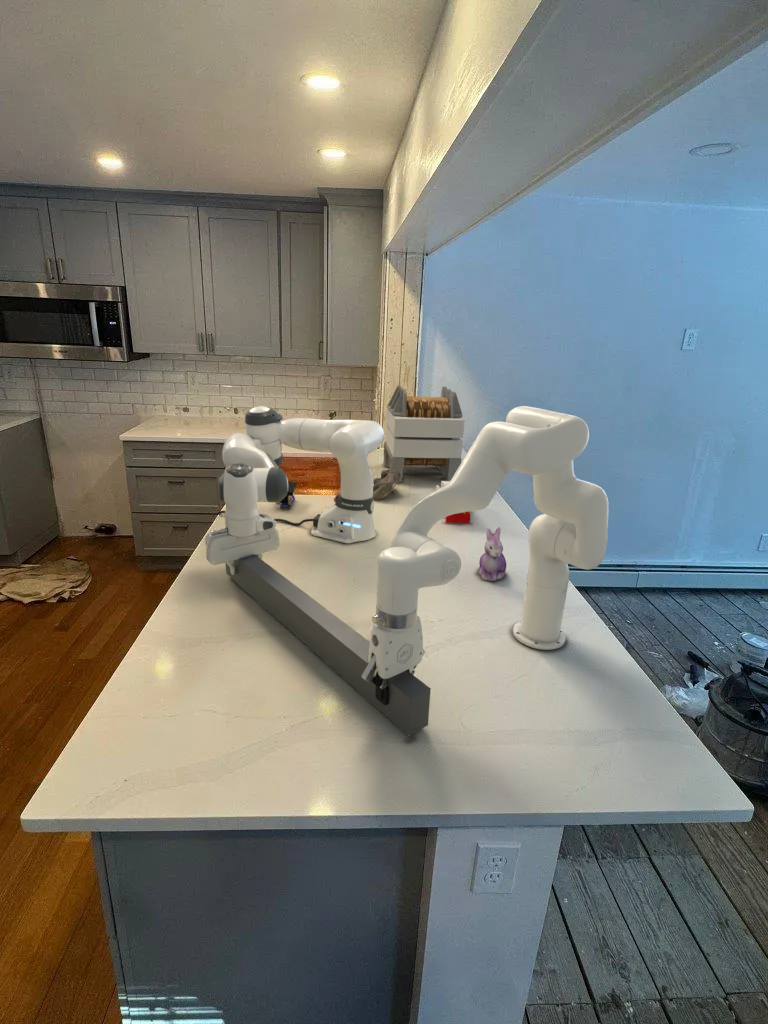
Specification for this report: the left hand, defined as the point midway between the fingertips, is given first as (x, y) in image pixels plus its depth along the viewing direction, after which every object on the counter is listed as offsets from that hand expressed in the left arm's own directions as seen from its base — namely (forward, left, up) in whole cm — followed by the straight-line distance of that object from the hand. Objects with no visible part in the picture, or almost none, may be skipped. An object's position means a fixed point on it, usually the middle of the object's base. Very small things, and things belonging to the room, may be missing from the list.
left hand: (245, 570), depth 157 cm
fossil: (+13, +96, -5) cm, 97 cm away
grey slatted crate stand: (+20, +133, -5) cm, 135 cm away
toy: (+44, +85, -5) cm, 96 cm away
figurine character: (-19, +67, -5) cm, 69 cm away
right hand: (+53, -38, 0) cm, 65 cm away
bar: (+26, -19, -3) cm, 33 cm away
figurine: (+65, +32, -5) cm, 73 cm away
